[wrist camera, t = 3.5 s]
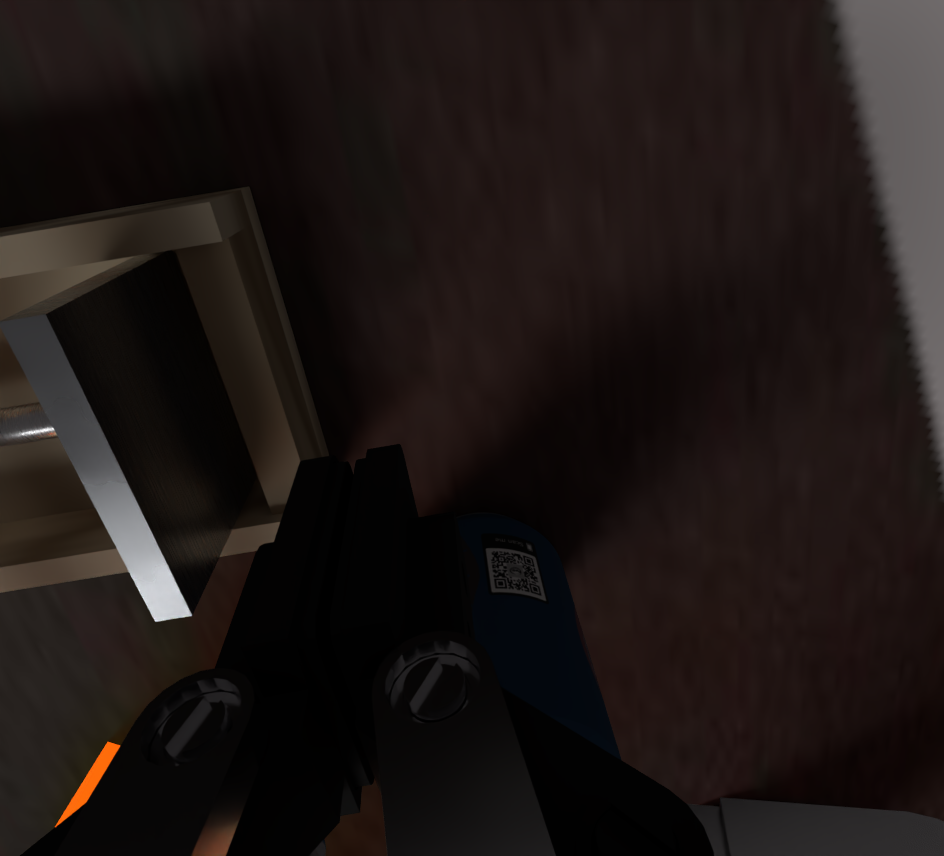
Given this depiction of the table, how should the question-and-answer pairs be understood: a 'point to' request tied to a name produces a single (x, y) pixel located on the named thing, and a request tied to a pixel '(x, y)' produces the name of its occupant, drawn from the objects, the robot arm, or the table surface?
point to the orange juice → (91, 780)
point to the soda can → (532, 624)
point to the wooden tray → (231, 347)
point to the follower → (137, 421)
